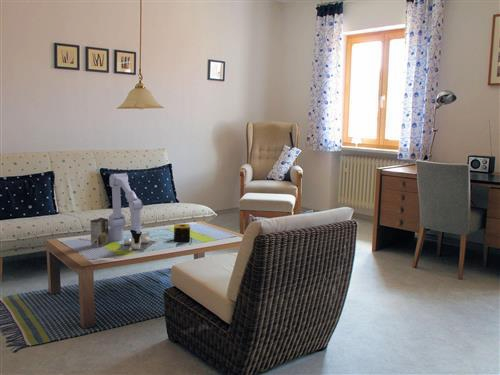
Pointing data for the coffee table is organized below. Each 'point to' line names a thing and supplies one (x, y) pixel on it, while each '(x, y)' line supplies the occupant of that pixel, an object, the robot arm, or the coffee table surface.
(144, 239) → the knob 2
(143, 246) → the levelling base
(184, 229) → the candle
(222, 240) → the coffee table surface
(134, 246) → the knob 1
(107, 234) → the coffee box
